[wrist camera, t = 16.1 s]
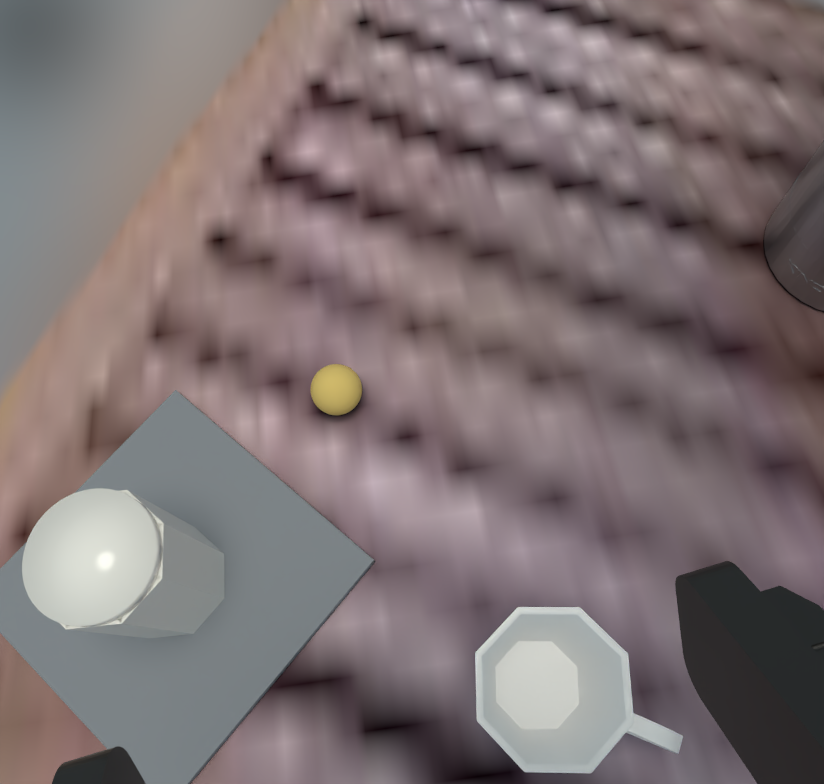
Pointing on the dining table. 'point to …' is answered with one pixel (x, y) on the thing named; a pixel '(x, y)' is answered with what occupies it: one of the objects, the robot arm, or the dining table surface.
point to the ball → (336, 389)
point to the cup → (558, 692)
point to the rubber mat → (224, 628)
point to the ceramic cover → (121, 567)
